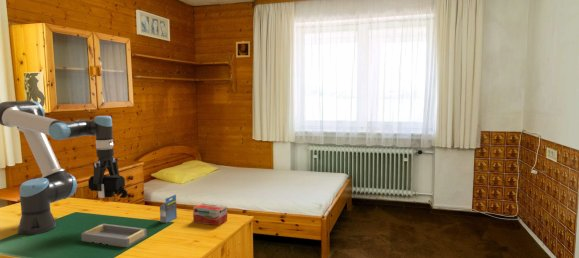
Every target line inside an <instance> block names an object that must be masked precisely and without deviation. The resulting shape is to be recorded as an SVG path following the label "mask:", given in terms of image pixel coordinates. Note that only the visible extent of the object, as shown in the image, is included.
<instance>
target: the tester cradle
mask: <svg viewBox="0 0 579 258" xmlns="http://www.w3.org/2000/svg"><path fill="white" fill-rule="evenodd" d="M80 237H81V242H85V243H86V242H87V243H92V242H94V243H93V244H99V243H102V244H101V245H106V244H108V245H107V246H114V247H121V248H129V247H131V246H133V245H134V244H136V243H138V242H139V241H141V240H143V239H145V238H147V237H148V232H147V228H141V227H133V226H125V225H117V224H108V223H100V224H98V225H97V226H95V227H92V228H91V229H88V230H85V231H84V232H81V236H80Z"/></svg>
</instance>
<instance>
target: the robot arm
mask: <svg viewBox="0 0 579 258" xmlns="http://www.w3.org/2000/svg"><path fill="white" fill-rule="evenodd" d="M45 114H46V113H45V109H44V107H43V106H42V105H41V104H40V103H39V102H38V101H35V100H17V101H16V100H15V101H14V100H13V101H7V100H6V101H3V102H0V125H1V126H4V127H8V128H14V127H16V128H17V130H18V131H20V132H22V133H23V135H24V137H25V139H26V141H27V144H28V146H29V148H30V150H31V153H32V154H33V157H34V159H35V162H36V164H37V166H38V168H39V170H40V172H41V177H37V178H31V179H29V180H26V181H24V182H22V183H21V184H20V185H19V200H20V201H19V202H20V210H21V214H20V215H21V216H20V220H19V224H18V227H17V231H18V232H17V233H18V234H21V235H38V234H43V233H45V232H49V231H51V230H53V229H55V228H56V226H57V225H56V224H57V223H56V219H55V218H54V215H53V214H52V211H51V204H53V203H56V202H58V201H61V200H65V199H68V198H70V197H72V196H74V194H75V193H76V191H77V188H78V183H77V179H76V177H75V176H74V175H72V174H70V173H68V172H67V170H66V169H65V168H62V167H61V165H60V162H59V160H58V159H57V157H56V155H55V153H54V150H53V148H52V147H53V146H52V145H51V143H50V141H49V139H48V136H49V137H51V138H52V139H53V140H56V141H59V140H60V141H61V140H62V141H64V140H67V139H72V138H79V137H80V138H81V137H86V136H94V137H95V148H96V157H97V161H96V162H93V163H92V166H93V175H94V176H93V175H92V176H93V183H94V184H97V190H98V191H97V192H98V198H99V199H100V198H103V199H104V198H105V197H104V184H102V182H103V178H104V175H105V173H106V170H108V171H107V172H108V173H109V174H108V175H114V176H120V172H119V164H118V162H119V160H118V158H117V157H115V158H114V157H113V156H114V155H115V149H114V136H113V135H114V134H113V129H114V128H113V120H112V117H111V116H110V115H97V116H95V117H94V119H84V118H82V119H76V120H73V121H72V120H71V121H63V120H59V119H55V118H52V117H46V116H45ZM47 135H48V136H47ZM99 181H100V182H99ZM114 194H115V192H114Z"/></svg>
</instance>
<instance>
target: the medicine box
mask: <svg viewBox="0 0 579 258" xmlns="http://www.w3.org/2000/svg"><path fill="white" fill-rule="evenodd" d="M192 216H193V217H192V218H193V223H199V224H204V225H211V226H218V227H219V226H220V225H222V224H223V223H226V221H228V207H227V205H222V204H215V203H213V204H212V203H205V202H201V203H199V204H196V205H195V206H193V209H192Z"/></svg>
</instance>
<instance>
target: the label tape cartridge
mask: <svg viewBox="0 0 579 258" xmlns="http://www.w3.org/2000/svg"><path fill="white" fill-rule="evenodd" d="M164 199H165V203H163V204H161V205H159V220H160V221H159V222H160V223H163V224H164V223H166V224H167V223H169V222H171V221H172V220H175V219H176V218H178V215H177V214H178V213H177V211H178V210H177V194H174V195H171V196H169V197H166V198H164Z"/></svg>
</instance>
